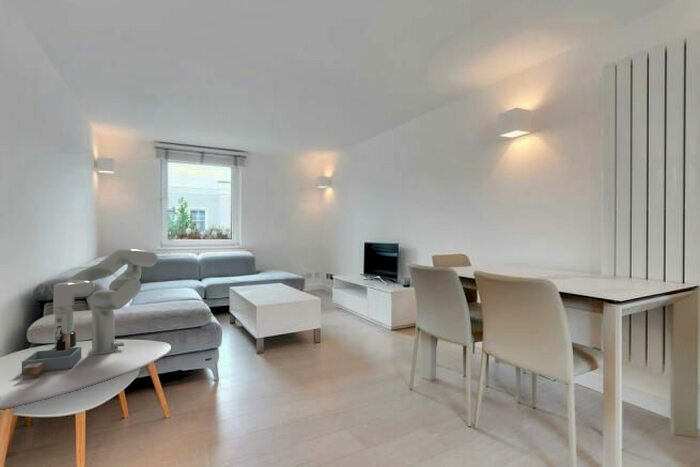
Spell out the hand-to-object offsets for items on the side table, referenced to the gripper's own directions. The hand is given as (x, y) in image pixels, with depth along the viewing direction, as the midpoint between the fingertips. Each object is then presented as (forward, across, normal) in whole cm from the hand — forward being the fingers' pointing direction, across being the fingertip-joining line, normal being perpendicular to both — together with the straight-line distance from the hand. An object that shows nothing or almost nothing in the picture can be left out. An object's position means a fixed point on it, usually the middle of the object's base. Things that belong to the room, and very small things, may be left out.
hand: (63, 348), depth 163 cm
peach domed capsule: (+1, 0, 0) cm, 1 cm away
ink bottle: (+8, +32, +9) cm, 34 cm away
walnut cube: (+8, -12, +7) cm, 16 cm away
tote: (+8, 0, +4) cm, 9 cm away
